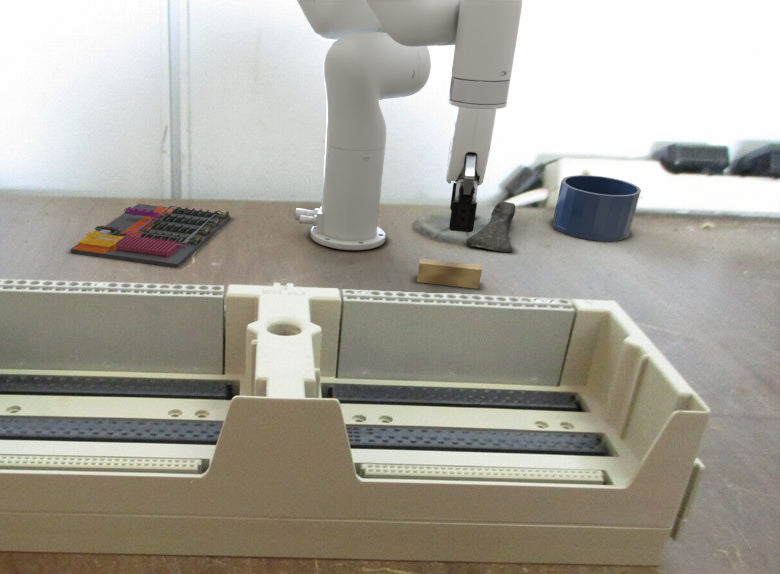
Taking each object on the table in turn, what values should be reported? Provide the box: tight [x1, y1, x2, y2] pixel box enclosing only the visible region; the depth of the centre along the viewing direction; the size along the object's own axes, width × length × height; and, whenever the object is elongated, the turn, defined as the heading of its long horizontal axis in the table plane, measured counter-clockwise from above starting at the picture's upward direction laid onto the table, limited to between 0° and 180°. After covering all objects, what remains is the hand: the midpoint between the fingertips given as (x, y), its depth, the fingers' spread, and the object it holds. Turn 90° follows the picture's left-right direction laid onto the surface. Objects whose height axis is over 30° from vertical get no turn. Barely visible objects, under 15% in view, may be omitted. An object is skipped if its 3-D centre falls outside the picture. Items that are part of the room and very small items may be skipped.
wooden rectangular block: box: [416, 258, 483, 290], centre depth 113 cm, size 9×2×3 cm, turn 79°
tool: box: [465, 201, 516, 253], centre depth 134 cm, size 21×8×3 cm, turn 160°
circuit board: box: [70, 203, 231, 268], centre depth 126 cm, size 25×18×3 cm
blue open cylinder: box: [552, 174, 642, 242], centre depth 137 cm, size 13×13×8 cm
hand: (460, 220), depth 108 cm, fingers open, 9 cm apart
